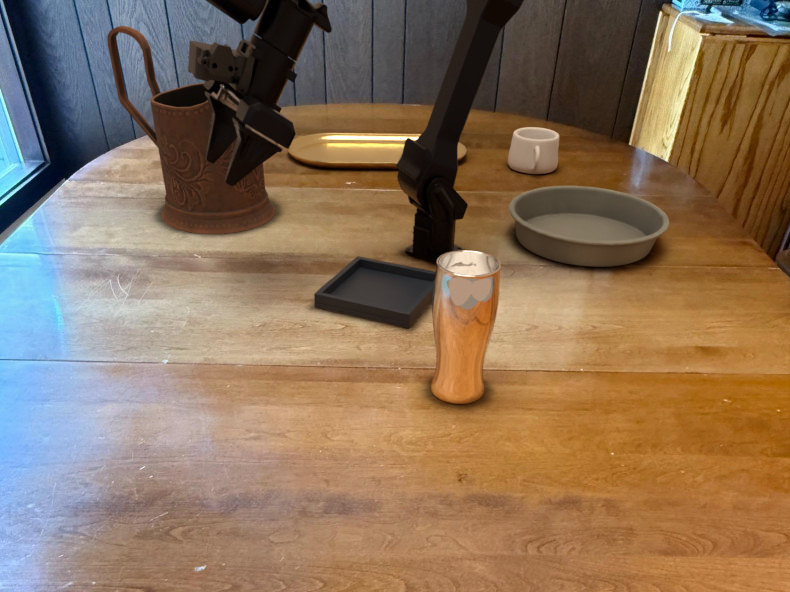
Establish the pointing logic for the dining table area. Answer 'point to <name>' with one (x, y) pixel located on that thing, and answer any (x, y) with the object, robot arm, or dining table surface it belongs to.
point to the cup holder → (192, 156)
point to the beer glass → (463, 322)
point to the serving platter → (353, 150)
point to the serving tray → (378, 291)
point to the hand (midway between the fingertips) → (218, 172)
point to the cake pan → (587, 225)
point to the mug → (534, 150)
